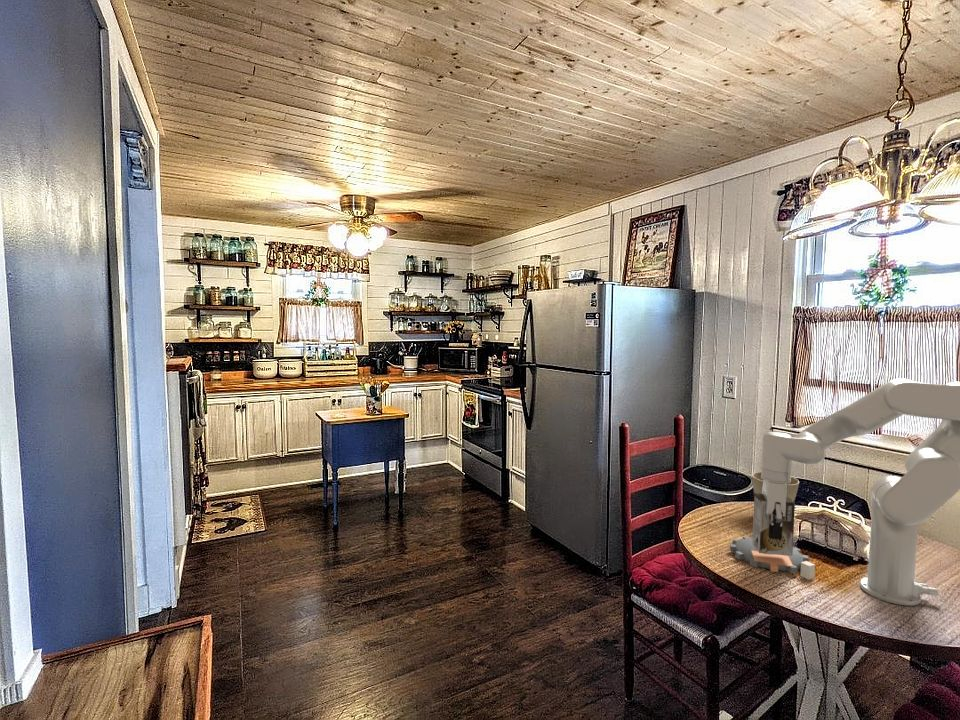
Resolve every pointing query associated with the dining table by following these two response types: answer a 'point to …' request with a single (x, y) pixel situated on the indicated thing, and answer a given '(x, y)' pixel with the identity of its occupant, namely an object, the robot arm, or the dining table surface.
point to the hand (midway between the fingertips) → (772, 532)
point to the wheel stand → (807, 570)
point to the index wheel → (767, 556)
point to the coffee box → (762, 528)
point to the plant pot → (790, 487)
